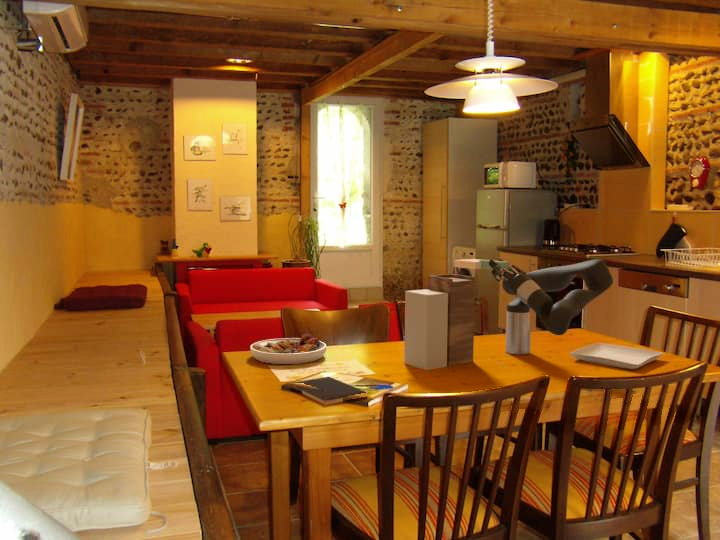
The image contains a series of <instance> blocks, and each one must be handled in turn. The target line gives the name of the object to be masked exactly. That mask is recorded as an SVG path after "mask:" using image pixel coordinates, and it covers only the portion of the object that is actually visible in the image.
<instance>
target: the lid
mask: <svg viewBox="0 0 720 540" xmlns="http://www.w3.org/2000/svg"><path fill="white" fill-rule="evenodd" d="M490 260H491V259H478V258H467V259H466V258H465V259H454V260H453V267H454V268H461V269H462V268H463V269H471V270H481V269H482V270H488V271H489V270H491V271H492V270H493V268H492V267H491V266H489V264H488V263H489V261H490ZM493 260H494V259H493ZM494 261H495V262H496V263H497V264H498V265H499V266H500V267H502V268H506V269H507V270H509V267H510V265H511V261H505V260H503V261H499V260H494ZM499 271H501V270H500V269H499Z"/></svg>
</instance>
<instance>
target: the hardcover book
mask: <svg viewBox="0 0 720 540" xmlns="http://www.w3.org/2000/svg"><path fill="white" fill-rule="evenodd" d="M292 383H304V384H306V385H310V386H312V387H316V388H317V389H310V388H304V387H299V386H296V387H297V388H298V389H301V390H302V393H303V395H304V396H306V397H308V398H310V399H312V400H314V401H316V402H318V403H321V404H322V405H325V406H327V405H328V406H329V405H332V404H337V403H338V404H339V403H343V398H344V397H347V396H349V395H355V394H361V393H366V392H367V391H365V390H363V389H360V388H357V387H356V386H352V385H350V384H348V383H345V382H343V381H340V380H338V379H335V378H333V377H331V376H324V377H319V378H312V379H306V380H299V381H295V382H292ZM325 390H326V391H325ZM302 393H301V394H302Z"/></svg>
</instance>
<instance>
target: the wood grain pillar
mask: <svg viewBox="0 0 720 540" xmlns="http://www.w3.org/2000/svg"><path fill="white" fill-rule="evenodd" d="M427 278H428V279H427V290H433V291H439V292H445V293H448V325H447V366H448V367H452V366H458V365H463V364H470V363H473V362H474V342H475V340H474V339H475V338H474V336H475V303H476V302H475V295H476V293H475V292H476V289H475V288H476V276H470V275H469V276H468V275H463V274H454V273H448V274H436V275H435V274H434V275H428V276H427Z"/></svg>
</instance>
